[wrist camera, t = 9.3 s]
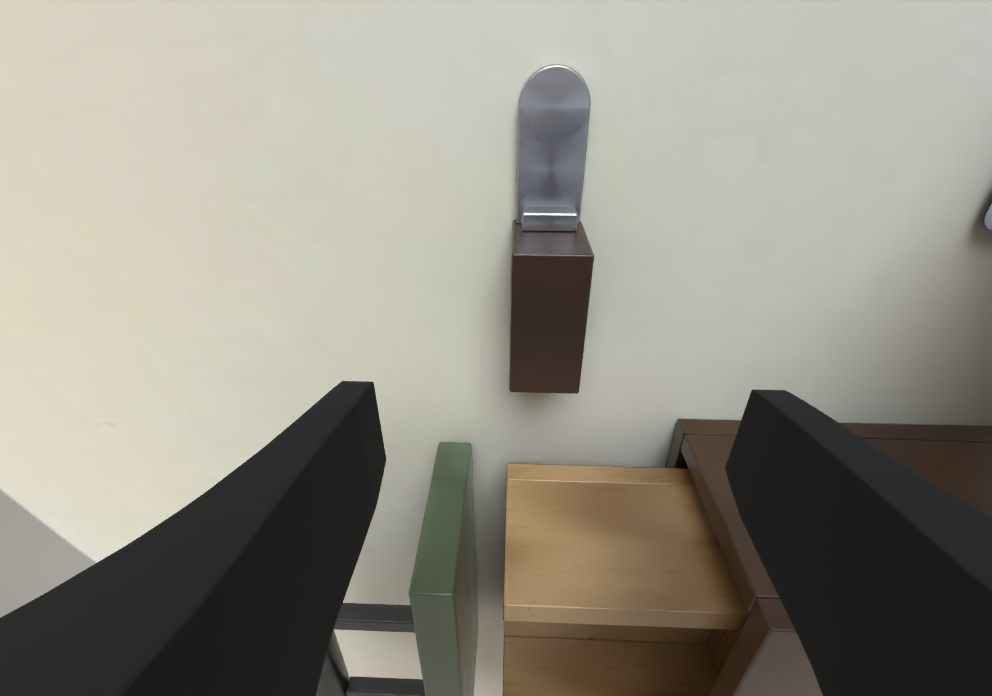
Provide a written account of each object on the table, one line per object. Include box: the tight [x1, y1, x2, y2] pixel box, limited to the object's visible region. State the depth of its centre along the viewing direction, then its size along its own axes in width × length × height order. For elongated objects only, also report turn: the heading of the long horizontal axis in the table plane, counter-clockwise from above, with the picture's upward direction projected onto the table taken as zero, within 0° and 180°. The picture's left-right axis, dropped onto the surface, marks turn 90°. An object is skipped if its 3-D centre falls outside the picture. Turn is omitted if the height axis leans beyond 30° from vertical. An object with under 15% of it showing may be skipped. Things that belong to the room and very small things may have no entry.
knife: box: [509, 65, 594, 393], centre depth 13 cm, size 8×2×3 cm, turn 0°
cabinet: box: [666, 419, 992, 696], centre depth 18 cm, size 14×14×8 cm
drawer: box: [316, 442, 749, 696], centre depth 18 cm, size 18×12×6 cm
